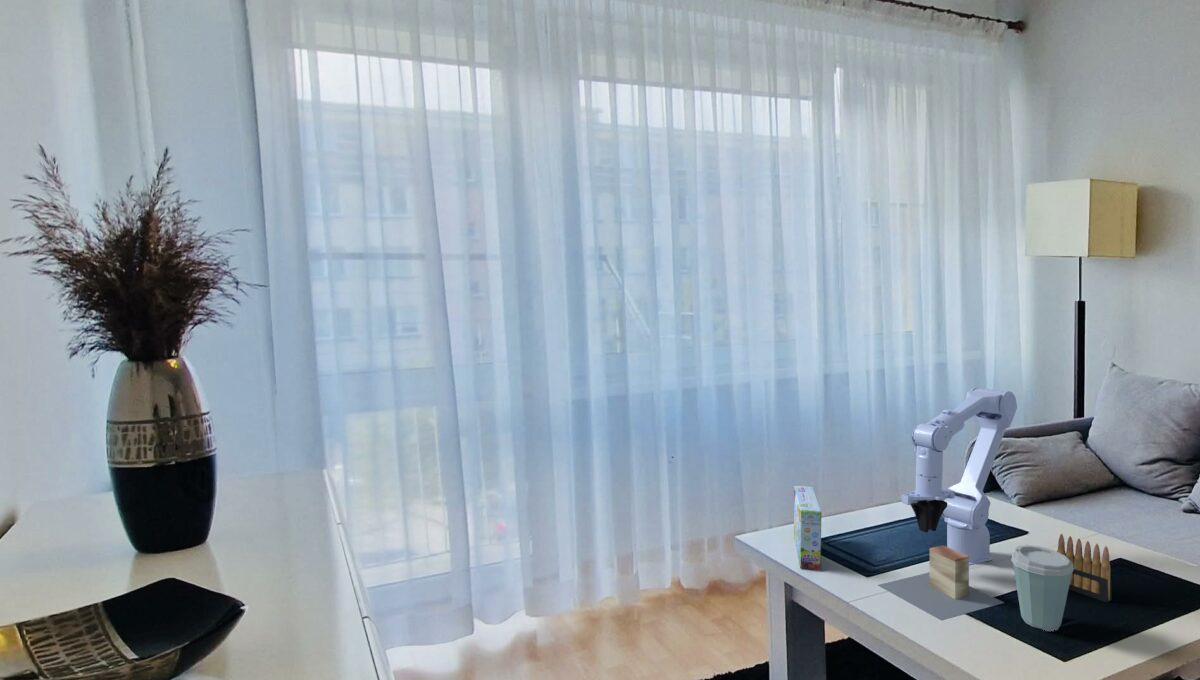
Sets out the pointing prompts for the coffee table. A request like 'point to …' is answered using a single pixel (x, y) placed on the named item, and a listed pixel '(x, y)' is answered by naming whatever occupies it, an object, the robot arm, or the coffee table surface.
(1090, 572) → the ammunition clip
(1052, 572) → the disposable coffee cup
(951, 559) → the beech block
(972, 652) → the coffee table surface
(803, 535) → the snack box
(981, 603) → the rubber mat
